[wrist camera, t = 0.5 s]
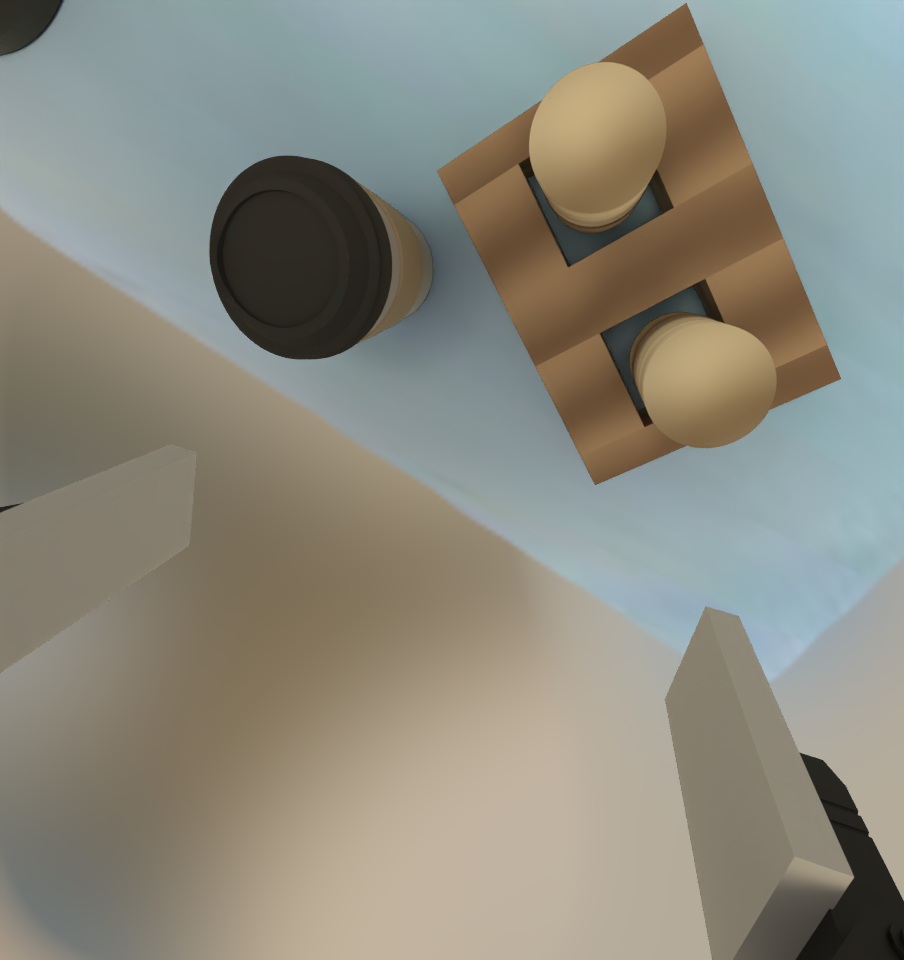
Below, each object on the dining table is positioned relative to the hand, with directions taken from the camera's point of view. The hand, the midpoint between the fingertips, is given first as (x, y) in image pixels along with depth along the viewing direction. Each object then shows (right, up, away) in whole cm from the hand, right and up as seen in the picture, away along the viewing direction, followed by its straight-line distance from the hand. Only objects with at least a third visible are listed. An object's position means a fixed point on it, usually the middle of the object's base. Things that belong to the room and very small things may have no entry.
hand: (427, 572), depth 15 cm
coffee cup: (-4, +16, +26) cm, 31 cm away
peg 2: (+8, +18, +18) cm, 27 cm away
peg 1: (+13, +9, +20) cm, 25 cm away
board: (+12, +15, +22) cm, 29 cm away
